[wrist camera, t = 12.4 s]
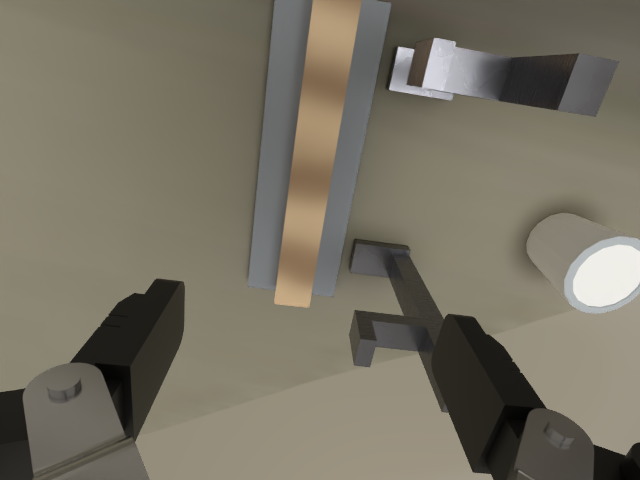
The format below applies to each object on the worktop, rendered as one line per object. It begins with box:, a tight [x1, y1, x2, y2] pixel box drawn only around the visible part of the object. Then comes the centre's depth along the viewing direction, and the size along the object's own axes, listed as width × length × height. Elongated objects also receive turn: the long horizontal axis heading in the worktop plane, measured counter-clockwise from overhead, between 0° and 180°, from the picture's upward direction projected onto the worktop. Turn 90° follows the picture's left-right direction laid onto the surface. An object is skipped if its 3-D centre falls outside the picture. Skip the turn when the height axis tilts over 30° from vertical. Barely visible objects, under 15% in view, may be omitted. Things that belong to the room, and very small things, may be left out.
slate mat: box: [248, 0, 392, 297], centre depth 32 cm, size 24×8×2 cm, turn 171°
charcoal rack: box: [349, 38, 619, 413], centre depth 25 cm, size 19×6×17 cm, turn 171°
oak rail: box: [274, 0, 362, 308], centre depth 30 cm, size 23×3×3 cm, turn 171°
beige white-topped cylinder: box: [526, 213, 640, 314], centre depth 33 cm, size 7×7×7 cm
